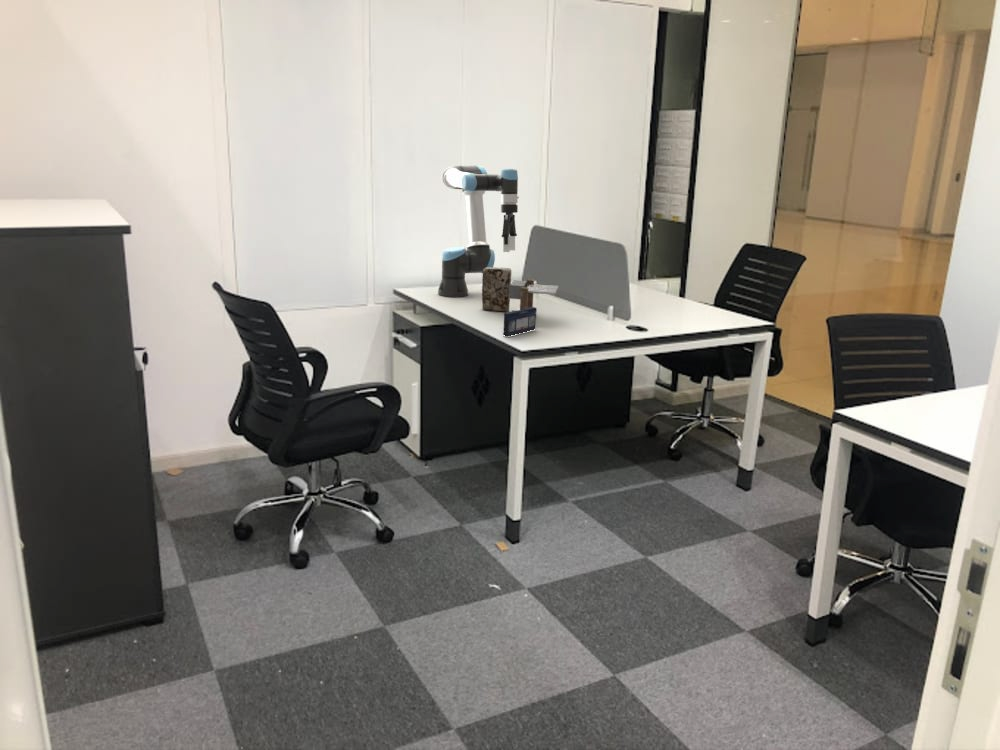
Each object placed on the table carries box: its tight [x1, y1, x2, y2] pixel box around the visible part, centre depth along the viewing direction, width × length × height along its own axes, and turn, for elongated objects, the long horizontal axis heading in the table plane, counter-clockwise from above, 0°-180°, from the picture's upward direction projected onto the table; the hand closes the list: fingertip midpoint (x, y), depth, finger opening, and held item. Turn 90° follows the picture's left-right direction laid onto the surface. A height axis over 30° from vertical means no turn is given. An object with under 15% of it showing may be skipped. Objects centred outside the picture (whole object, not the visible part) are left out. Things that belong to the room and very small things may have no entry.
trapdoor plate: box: [509, 279, 559, 300], centre depth 356 cm, size 20×16×6 cm
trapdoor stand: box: [511, 278, 535, 312], centre depth 358 cm, size 11×24×16 cm, turn 170°
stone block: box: [481, 266, 513, 313], centre depth 371 cm, size 13×7×20 cm, turn 88°
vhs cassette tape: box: [502, 306, 538, 336], centre depth 333 cm, size 18×3×10 cm, turn 137°
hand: (509, 251), depth 367 cm, fingers open, 13 cm apart
